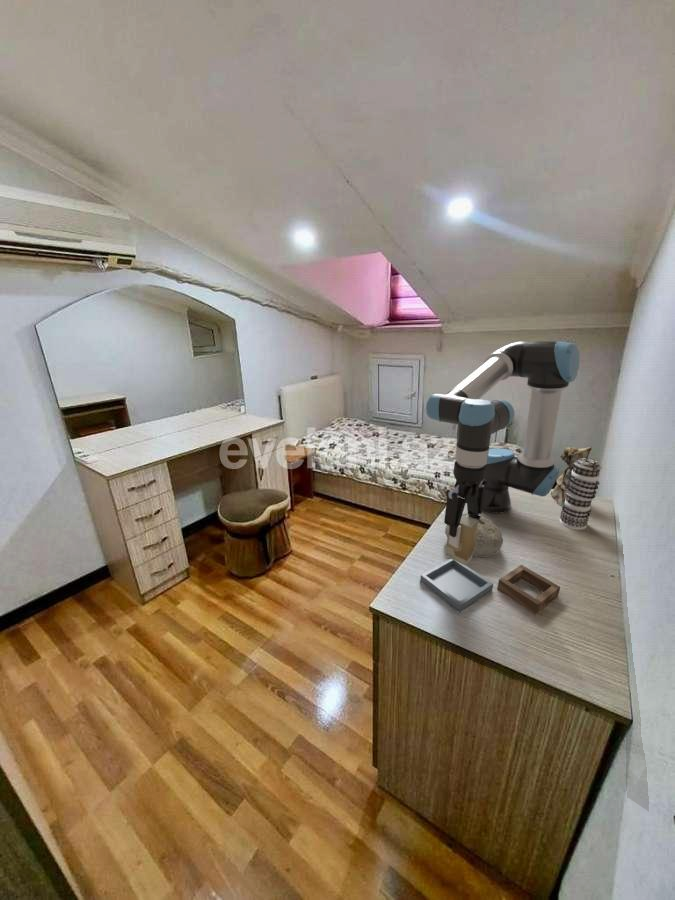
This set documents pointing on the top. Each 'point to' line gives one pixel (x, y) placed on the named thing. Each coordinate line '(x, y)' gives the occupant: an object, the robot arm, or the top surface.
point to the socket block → (524, 598)
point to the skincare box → (463, 541)
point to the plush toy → (567, 472)
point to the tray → (456, 584)
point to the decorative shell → (485, 538)
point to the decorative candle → (580, 493)
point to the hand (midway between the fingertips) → (460, 541)
